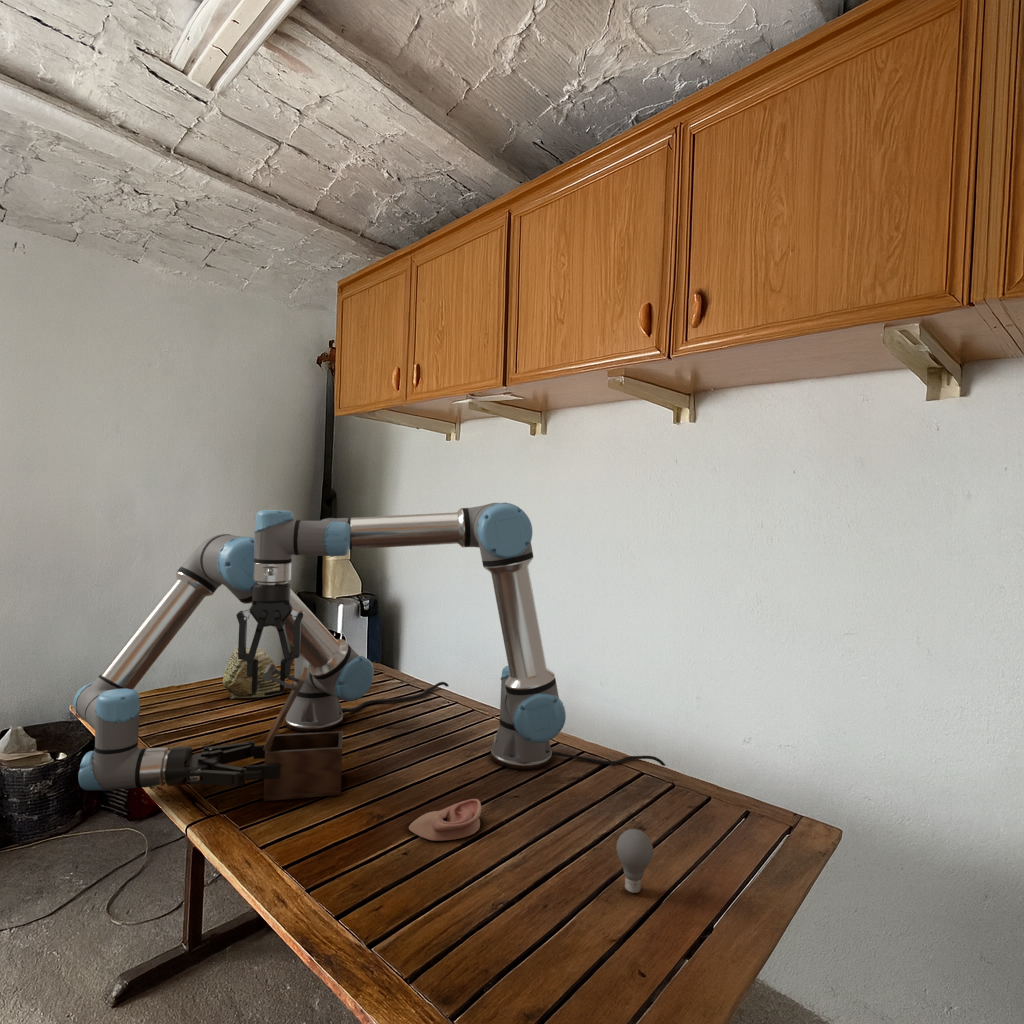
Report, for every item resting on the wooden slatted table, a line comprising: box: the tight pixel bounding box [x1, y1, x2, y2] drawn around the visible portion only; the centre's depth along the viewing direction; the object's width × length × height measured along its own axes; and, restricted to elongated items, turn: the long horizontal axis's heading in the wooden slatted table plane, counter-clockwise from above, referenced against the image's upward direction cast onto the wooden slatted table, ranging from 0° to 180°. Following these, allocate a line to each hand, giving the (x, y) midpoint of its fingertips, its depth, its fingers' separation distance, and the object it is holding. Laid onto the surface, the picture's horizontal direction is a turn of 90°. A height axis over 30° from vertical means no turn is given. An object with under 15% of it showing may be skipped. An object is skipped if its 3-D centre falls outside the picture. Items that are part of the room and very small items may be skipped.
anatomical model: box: [408, 798, 482, 842], centre depth 124 cm, size 13×4×12 cm
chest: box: [263, 730, 344, 802], centre depth 137 cm, size 15×10×10 cm, turn 104°
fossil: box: [222, 646, 287, 699], centre depth 198 cm, size 9×18×15 cm, turn 132°
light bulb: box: [615, 828, 654, 894], centre depth 106 cm, size 6×6×10 cm
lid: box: [262, 664, 308, 751], centre depth 135 cm, size 16×10×8 cm
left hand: (282, 760), depth 136 cm, fingers closed on chest, 10 cm apart
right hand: (268, 690), depth 135 cm, fingers open, 5 cm apart
